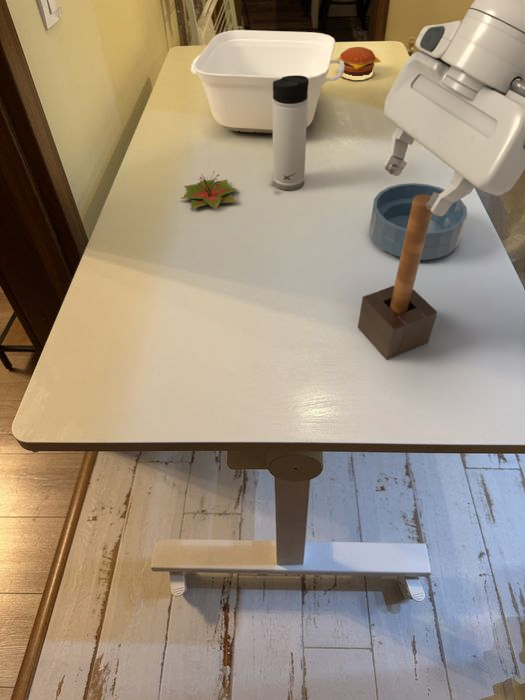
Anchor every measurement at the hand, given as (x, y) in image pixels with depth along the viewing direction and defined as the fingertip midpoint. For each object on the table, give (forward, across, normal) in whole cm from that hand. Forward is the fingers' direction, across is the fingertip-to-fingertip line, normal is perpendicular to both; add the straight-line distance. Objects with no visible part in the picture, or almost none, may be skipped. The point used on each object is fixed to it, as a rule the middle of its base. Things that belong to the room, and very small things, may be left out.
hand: (410, 191), depth 58 cm
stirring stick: (+20, 0, -12) cm, 23 cm away
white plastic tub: (+15, +74, -17) cm, 78 cm away
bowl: (+13, +20, -25) cm, 34 cm away
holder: (+20, 0, -12) cm, 23 cm away
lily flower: (+26, +46, +2) cm, 52 cm away
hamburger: (0, +92, -45) cm, 102 cm away
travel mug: (+18, +45, -12) cm, 50 cm away
